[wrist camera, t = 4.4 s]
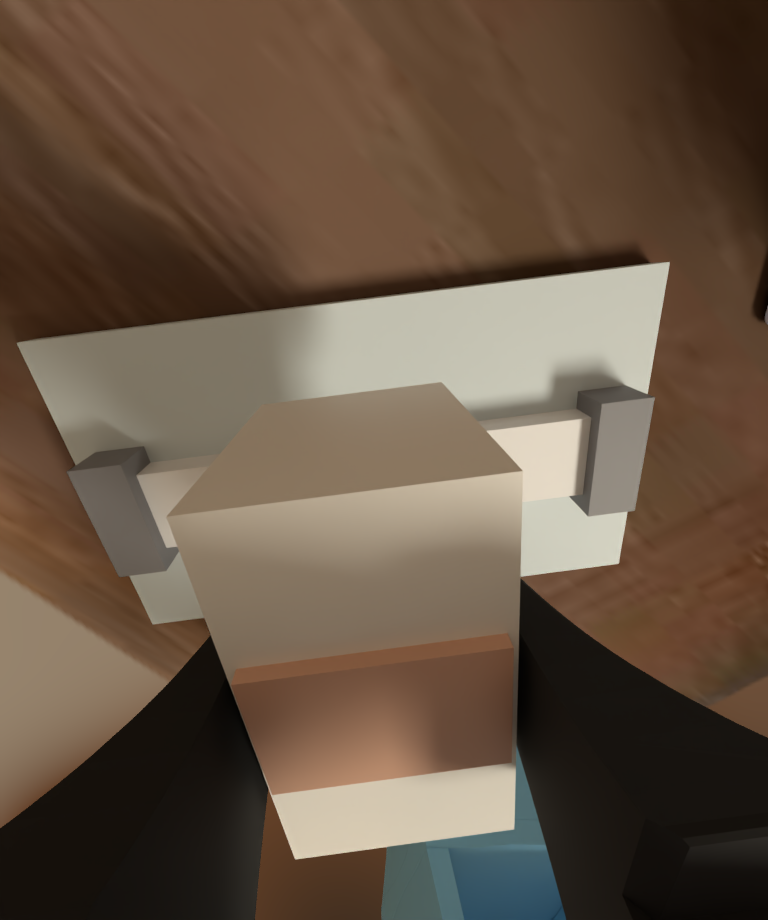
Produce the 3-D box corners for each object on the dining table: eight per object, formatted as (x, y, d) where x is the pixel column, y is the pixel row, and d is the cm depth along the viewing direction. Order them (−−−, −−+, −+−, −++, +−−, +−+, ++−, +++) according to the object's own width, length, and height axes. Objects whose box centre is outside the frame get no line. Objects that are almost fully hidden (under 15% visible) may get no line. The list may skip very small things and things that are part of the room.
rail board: (651, 262, 16) (708, 260, 13) (607, 551, 22) (640, 588, 19) (36, 338, 15) (-27, 351, 13) (161, 609, 21) (135, 654, 19)
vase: (528, 633, 24) (1072, 1770, 6) (489, 718, 27) (760, 1626, 9) (398, 621, 23) (563, 1970, 5) (373, 711, 26) (412, 1725, 8)
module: (441, 382, 11) (531, 480, 5) (455, 626, 15) (519, 845, 9) (261, 404, 11) (155, 528, 5) (319, 644, 15) (293, 877, 9)
